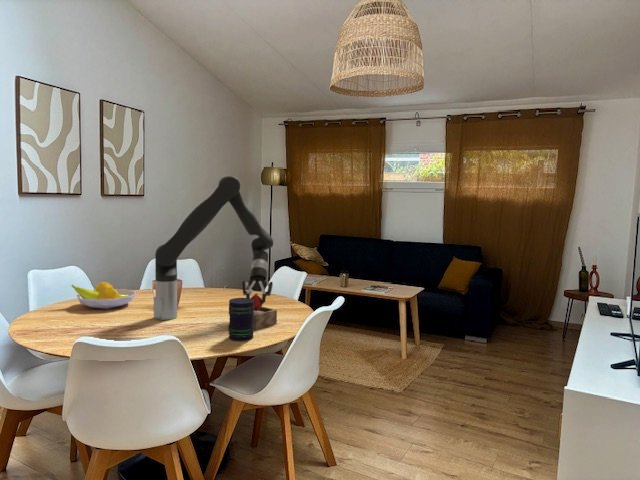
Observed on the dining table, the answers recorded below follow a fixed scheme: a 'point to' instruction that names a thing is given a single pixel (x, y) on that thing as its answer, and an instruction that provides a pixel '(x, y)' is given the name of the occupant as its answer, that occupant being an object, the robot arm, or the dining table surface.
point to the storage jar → (241, 319)
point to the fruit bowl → (104, 296)
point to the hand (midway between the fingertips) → (255, 302)
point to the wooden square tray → (264, 317)
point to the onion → (257, 302)
